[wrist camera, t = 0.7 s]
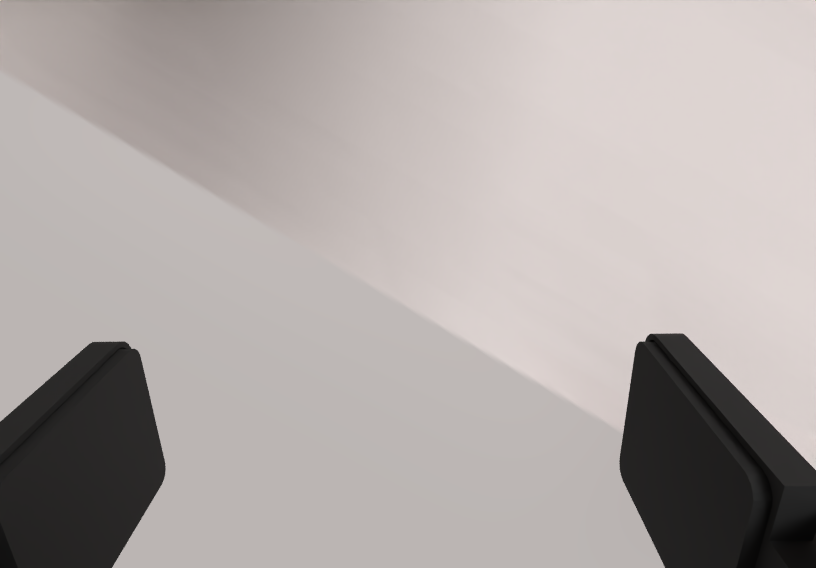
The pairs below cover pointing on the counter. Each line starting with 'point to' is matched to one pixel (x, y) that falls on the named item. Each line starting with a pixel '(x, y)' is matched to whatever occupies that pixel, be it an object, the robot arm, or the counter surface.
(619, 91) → the counter surface
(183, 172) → the counter surface
